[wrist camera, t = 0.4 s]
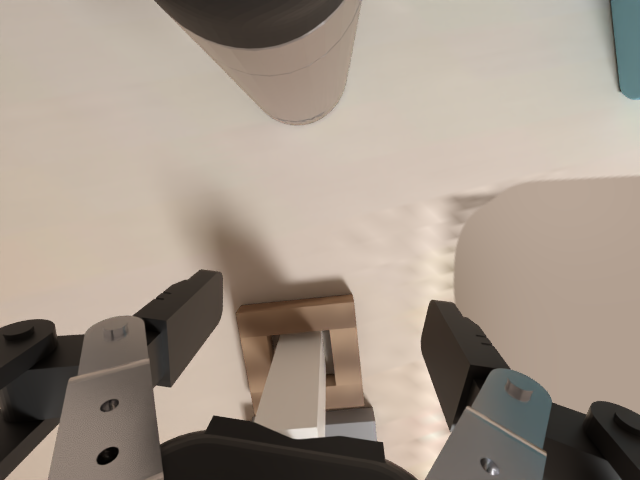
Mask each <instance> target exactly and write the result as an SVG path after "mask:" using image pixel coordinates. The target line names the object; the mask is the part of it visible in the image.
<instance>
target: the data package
mask: <svg viewBox="0 0 640 480" xmlns="http://www.w3.org/2000/svg"><path fill="white" fill-rule="evenodd" d="M611 9H612V18H613V28H614V37H615V47H616V56H617V66H618V75H619V84H620V89H621V91H622V93H623V94H624V95H625V96H626V97H627V98H630V99H633V100H639V99H640V0H611Z"/></svg>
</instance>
